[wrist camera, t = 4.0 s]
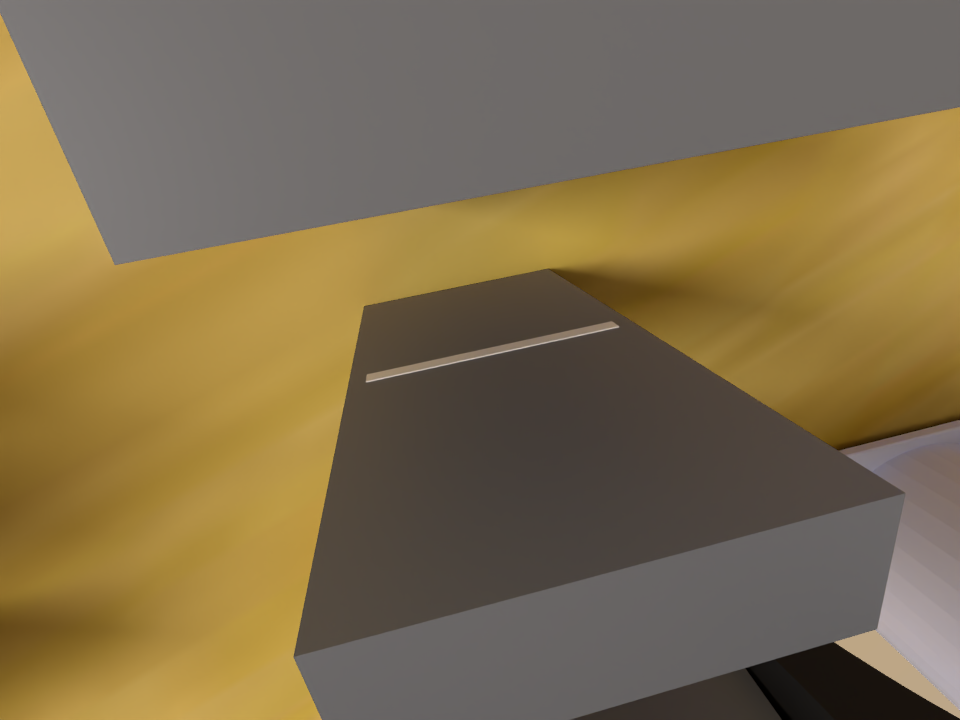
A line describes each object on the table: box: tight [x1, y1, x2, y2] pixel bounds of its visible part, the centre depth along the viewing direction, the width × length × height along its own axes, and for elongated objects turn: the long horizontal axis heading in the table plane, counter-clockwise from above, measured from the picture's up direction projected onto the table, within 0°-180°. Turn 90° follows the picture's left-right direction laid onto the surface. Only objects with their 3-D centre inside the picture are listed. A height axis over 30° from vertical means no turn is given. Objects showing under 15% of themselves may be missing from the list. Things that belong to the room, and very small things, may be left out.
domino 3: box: [571, 668, 782, 720], centre depth 9 cm, size 5×2×10 cm, turn 99°
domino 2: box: [294, 269, 906, 720], centre depth 9 cm, size 5×2×10 cm, turn 100°
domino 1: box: [0, 0, 960, 265], centre depth 7 cm, size 5×2×10 cm, turn 100°
